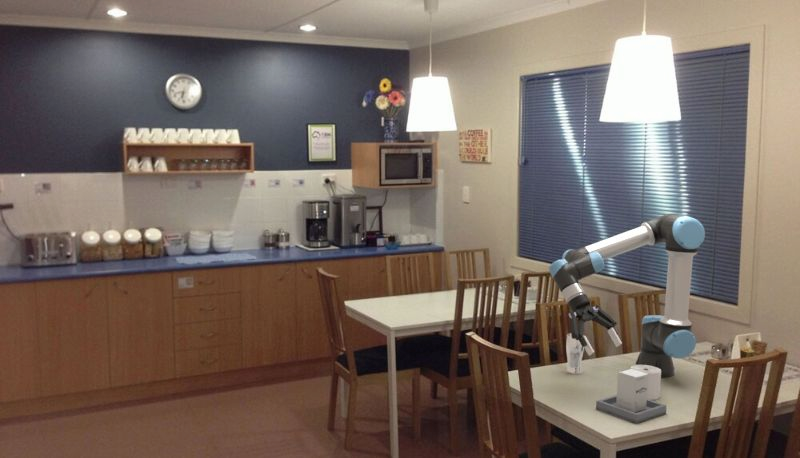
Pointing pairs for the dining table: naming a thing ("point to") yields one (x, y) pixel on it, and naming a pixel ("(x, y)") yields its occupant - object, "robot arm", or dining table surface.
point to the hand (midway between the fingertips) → (605, 349)
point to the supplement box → (632, 390)
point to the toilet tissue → (651, 380)
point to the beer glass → (574, 355)
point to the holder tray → (649, 413)
